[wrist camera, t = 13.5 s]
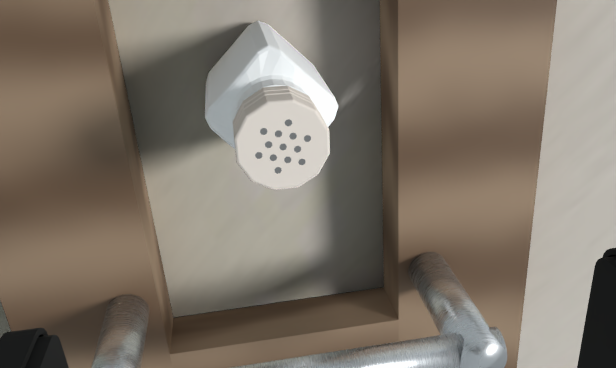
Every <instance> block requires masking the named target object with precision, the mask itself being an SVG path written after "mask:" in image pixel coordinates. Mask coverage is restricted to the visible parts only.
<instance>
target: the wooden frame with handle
mask: <svg viewBox="0 0 616 368" xmlns="http://www.w3.org/2000/svg"><path fill="white" fill-rule="evenodd" d="M556 5H557V0H380V57H381V126H382V195H383V264H384V287H383V288H376V289H369V290H363V291H356V292H349V293H342V294H335V295H328V296H321V297H314V298H307V299H301V300H294V301H287V302H280V303H273V304H266V305H259V306H252V307H245V308H239V309H232V310H225V311H218V312H211V313H204V314H197V315H190V316H183V317H176V318H173V314H172V309H171V304H170V299H169V295H168V290H167V285H166V280H165V275H164V270H163V265H162V261H161V256H160V251H159V246H158V241H157V236H156V231H155V226H154V222H153V217H152V212H151V207H150V202H149V197H148V192H147V188H146V183H145V178H144V173H143V168H142V163H141V158H140V154H139V149H138V144H137V139H136V134H135V129H134V124H133V119H132V115H131V110H130V105H129V100H128V95H127V90H126V85H125V81H124V76H123V71H122V66H121V61H120V56H119V51H118V47H117V42H116V37H115V32H114V27H113V22H112V17H111V12H110V8H109V3H108V0H0V300H1V303H2V306H3V309H4V312H5V314H6V317H7V320H8V323H9V326H10V328H11V331H19V330H27V329H34V328H44V329H45V330H46V331H47V334H48V336H49V335H57V336H58V337H59V339H60V342H61V345H62V348H63V351H64V354H65V357H66V360H67V363H68V367H69V368H91V367H92V363H93V359H94V355H95V351H96V348H97V344H98V340H99V336H100V332H101V329H102V325H103V321H104V317H105V313H106V310H107V306H108V304H109V302H110V301H111V300H112V299H113V298H115V297H117V296H119V295H123V294H133V295H136V296H139V297H141V298H142V299H144V300H145V301H146V303H147V304H148V306H149V318H148V325H147V331H146V338H145V344H144V351H143V357H142V364H141V368H231V367H237V366H243V365H250V364H256V363H263V362H269V361H276V360H282V359H288V358H295V357H301V356H308V355H314V354H321V353H327V352H334V351H340V350H346V349H353V348H359V347H366V346H372V345H379V344H385V343H392V342H398V341H404V340H411V339H417V338H424V337H430V336H437V335H440V333H439V331H438V329H437V327H436V326H435V324H434V322H433V320H432V318H431V316H430V314H429V313H428V311H427V309H426V307H425V305H424V303H423V301H422V300H421V298H420V296H419V294H418V292H417V290H416V288H415V287H414V285H413V283H412V281H411V279H410V277H409V275H408V268H409V265H410V263H411V261H412V260H413V259H414V258H415V257H416V256H418V255H420V254H422V253H425V252H436V253H438V254H440V255H441V256H443V258H444V259H445V261H446V262H447V264H448V265H449V267H450V268H451V270H452V271H453V273H454V274H455V276H456V277H457V279H458V280H459V282H460V283H461V285H462V286H463V288H464V289H465V291H466V292H467V294H468V295H469V297H470V298H471V300H472V301H473V303H474V304H475V306H476V307H477V309H478V310H479V312H480V313H481V315H482V316H483V318H484V319H485V321H486V322H487V324H488V325H489V327H497V328H498V329H499V330H500V332H501V333H502V335H503V338H504V341H505V344H506V348H507V362H506V365H505V367H504V368H517V359H518V350H519V340H520V331H521V322H522V313H523V304H524V295H525V286H526V277H527V268H528V259H529V250H530V241H531V232H532V223H533V213H534V204H535V195H536V186H537V177H538V168H539V159H540V150H541V141H542V132H543V123H544V114H545V105H546V96H547V86H548V77H549V68H550V59H551V50H552V41H553V32H554V23H555V14H556Z"/></svg>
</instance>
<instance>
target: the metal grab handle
mask: <svg viewBox="0 0 616 368" xmlns="http://www.w3.org/2000/svg"><path fill="white" fill-rule="evenodd" d="M408 275H409V277H410V279H411V281H412V283H413V285H414V287H415V288H416V290H417V292H418V294H419V296H420V298H421V300H422V301H423V303H424V305H425V307H426V309H427V311H428V313H429V314H430V316H431V318H432V320H433V322H434V324H435V326H436V327H437V329H438V331H439V333H440V335H437V336H430V337H424V338H417V339H411V340H404V341H398V342H392V343H385V344H379V345H372V346H366V347H359V348H353V349H346V350H340V351H334V352H327V353H321V354H314V355H308V356H301V357H295V358H288V359H282V360H276V361H269V362H263V363H256V364H250V365H243V366H237V367H231V368H504V367H505V365H506V362H507V348H506V344H505V341H504V338H503V335H502V333H501V332H500V330H499V329H498V328H497V327H489V325H488V324H487V322H486V321H485V319H484V318H483V316H482V315H481V313H480V312H479V310H478V309H477V307H476V306H475V304H474V303H473V301H472V300H471V298H470V297H469V295H468V294H467V292H466V291H465V289H464V288H463V286H462V285H461V283H460V282H459V280H458V279H457V277H456V276H455V274H454V273H453V271H452V270H451V268H450V267H449V265H448V264H447V262H446V261H445V259H444V258H443V256H441V255H440V254H438V253H436V252H425V253H422V254H420V255H418V256H416V257H415V258H414V259H413V260H412V261H411V263H410V265H409V268H408ZM148 318H149V306H148V304H147V303H146V301H145V300H144V299H142V298H141V297H139V296H136V295H133V294H123V295H119V296H117V297H115V298H113V299H112V300H111V301H110V302H109V304H108V306H107V310H106V313H105V317H104V321H103V325H102V329H101V332H100V336H99V340H98V344H97V348H96V351H95V355H94V359H93V363H92V367H91V368H141V364H142V357H143V351H144V344H145V338H146V331H147V325H148Z"/></svg>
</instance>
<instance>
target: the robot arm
mask: <svg viewBox="0 0 616 368" xmlns="http://www.w3.org/2000/svg"><path fill="white" fill-rule="evenodd" d="M0 368H69V367H68V363H67V360H66V357H65V354H64V351H63V348H62V345H61V342H60V339H59V337H58V336H57V335H49V336H48V334H47V331H46V330H45V329H44V328H34V329H27V330H19V331H12V332H6V333H5V334H3V336H2V337H1V338H0ZM577 368H616V248H612V249H609V250H607V251H606V252H605V253H604V255H603V258H601V259H598V261H597V262H596V265H595V269H594V275H593V281H592V286H591V292H590V298H589V303H588V309H587V315H586V321H585V326H584V332H583V338H582V343H581V349H580V355H579V361H578V366H577Z"/></svg>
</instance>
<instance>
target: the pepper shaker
mask: <svg viewBox="0 0 616 368" xmlns="http://www.w3.org/2000/svg"><path fill="white" fill-rule="evenodd" d="M337 109H338V104H337V101H336V99H335V97H334V95H333V94H332V92H331V91H330V89H329V88H328V86H327V85H326V83H325V82H324V80H323V79H322V77H321V76H320V74H319V73H318V71H317V69H316V68H315V66H314V65H313V64H312V63H311V62H310V61H309V60H308V59H306V58H305V57H304V56H303V55H302V54H301V53H300V52H299V51H298V50H296V49H295V48H294V47H293V46H292V45H291V44H290V43H289V42H287V41H286V40H285V39H284V38H283V37H282V36H281V35H280V34H279V33H277V32H276V31H275V30H274V29H273V28H272V27H271V26H270V25H268V24H267V23H264V22H261V21H256V22H254V23H252V24H250V25H248V27H247V28H246V29H245V30H244V31H243V33H242V34H241V35H240V36H239V37H238V38H237V40H236V41H235V42H234V43H233V44H232V46H231V47H230V48H229V49H228V50H227V51H226V53H225V54H224V55H223V56H222V57H221V59H220V60H219V61H218V62H217V63H216V64H215V66H214V67H213V68H212V69H211V70H210V72H209V73H208V77H207V80H206V94H205V119H206V121H207V123H208V125H209V127H210V129H212V130H213V131H214V132H215V133H216V134H217V135H219V136H220V137H221V138H222V139H223V140H224V141H226V142H227V143H228V144H229V145H230V146H232V147H233V148H234V149H235V152H236V162H237V163H238V165H239V166H240V167H241V169H242V170H243V171H244V173H245V174H246V175H247V176H248V178H249V179H250V180H251V181H252V182H255V183H257V184H260V185H262V186H265V187H267V188H270V189H272V190H279V189H289V188H298V187H299V186H301V185H303V184H304V183H306V182H307V181H309V180H310V179H312V178H313V177H315V176H317V175H318V174H319V172H320V170H321V169H322V167H323V165H324V163H325V161H326V160H327V158H328V156H329V154H330V138H329V128H328V127H329V125H330V124H331V123H332V122H333V120H334V119H335V116H336V113H337Z"/></svg>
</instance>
